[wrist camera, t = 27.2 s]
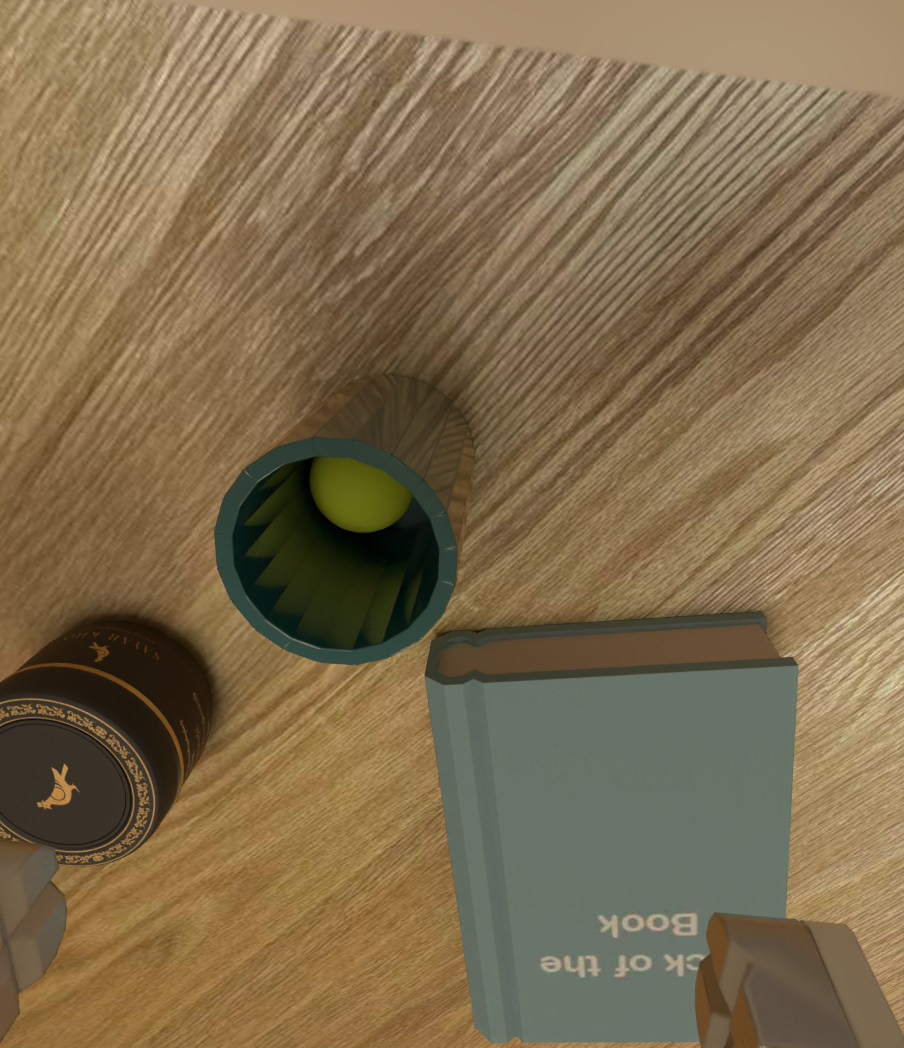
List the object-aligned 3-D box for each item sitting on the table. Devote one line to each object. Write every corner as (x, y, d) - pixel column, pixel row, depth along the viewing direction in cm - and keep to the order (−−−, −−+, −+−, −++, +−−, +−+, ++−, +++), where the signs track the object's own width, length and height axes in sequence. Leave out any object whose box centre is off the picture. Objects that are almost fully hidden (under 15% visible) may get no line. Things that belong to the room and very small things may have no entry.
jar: (226, 625, 39) (161, 711, 32) (222, 780, 42) (163, 889, 35) (38, 596, 39) (-68, 674, 32) (49, 752, 43) (-44, 854, 36)
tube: (307, 369, 34) (205, 431, 23) (479, 377, 33) (462, 445, 22) (311, 530, 37) (223, 656, 25) (471, 540, 36) (452, 673, 25)
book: (750, 957, 44) (779, 1041, 39) (477, 961, 46) (473, 1042, 41) (761, 611, 36) (798, 665, 32) (433, 632, 38) (422, 686, 33)
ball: (350, 408, 35) (283, 432, 31) (436, 424, 33) (376, 452, 29) (352, 501, 36) (290, 534, 33) (434, 521, 34) (378, 559, 31)
